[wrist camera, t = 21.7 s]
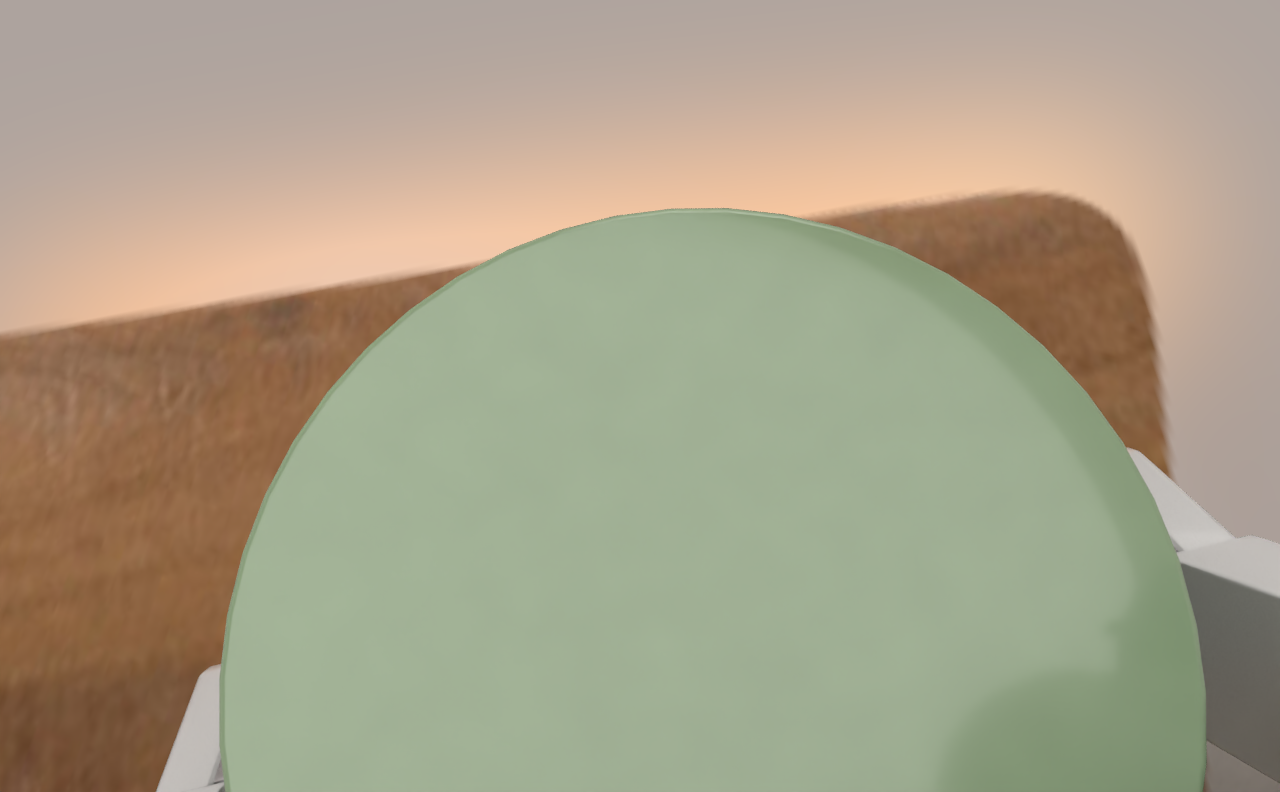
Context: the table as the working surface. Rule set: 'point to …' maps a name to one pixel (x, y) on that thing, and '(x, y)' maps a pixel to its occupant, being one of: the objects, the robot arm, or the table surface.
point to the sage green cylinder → (709, 541)
